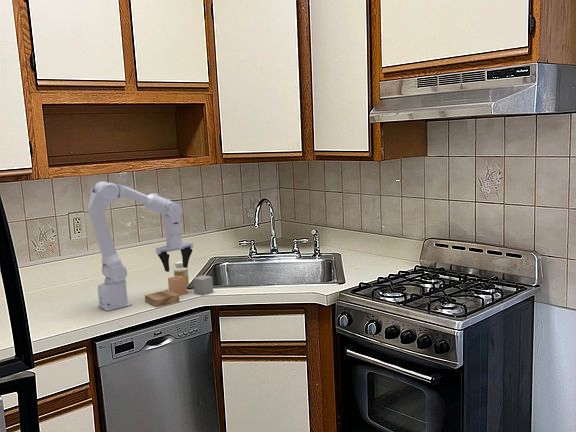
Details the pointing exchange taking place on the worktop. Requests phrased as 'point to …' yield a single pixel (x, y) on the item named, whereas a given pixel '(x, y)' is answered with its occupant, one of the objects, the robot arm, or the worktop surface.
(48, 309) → the worktop surface
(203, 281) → the slate block
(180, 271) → the supplement bottle
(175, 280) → the terracotta block
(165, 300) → the walnut slab
